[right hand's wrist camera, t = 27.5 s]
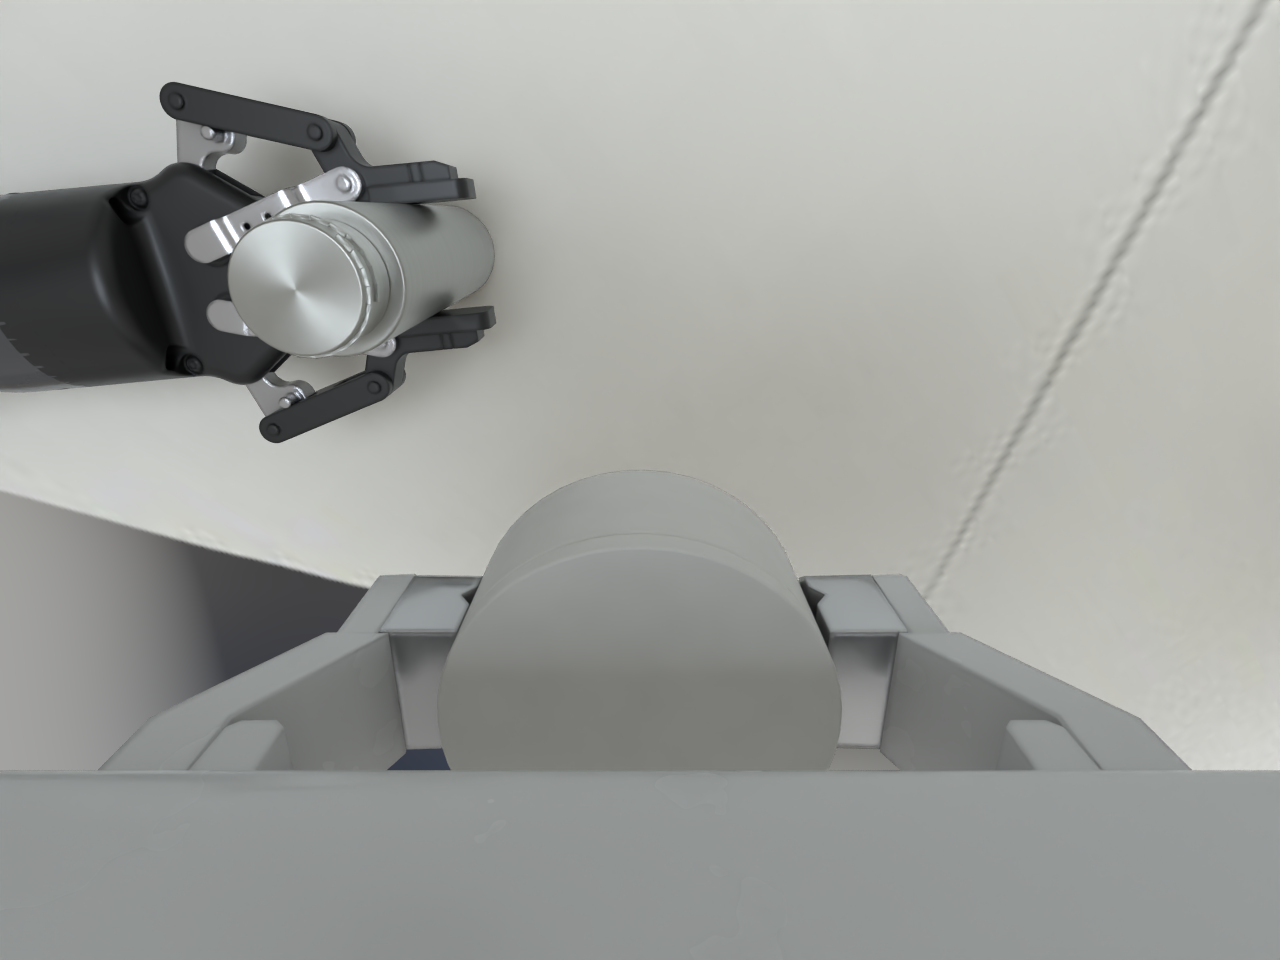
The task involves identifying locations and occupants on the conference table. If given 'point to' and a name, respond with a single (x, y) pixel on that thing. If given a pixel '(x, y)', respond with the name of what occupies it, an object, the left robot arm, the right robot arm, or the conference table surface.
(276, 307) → the grey cylinder
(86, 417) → the conference table surface
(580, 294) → the conference table surface
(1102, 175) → the conference table surface
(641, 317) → the conference table surface
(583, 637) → the lid
